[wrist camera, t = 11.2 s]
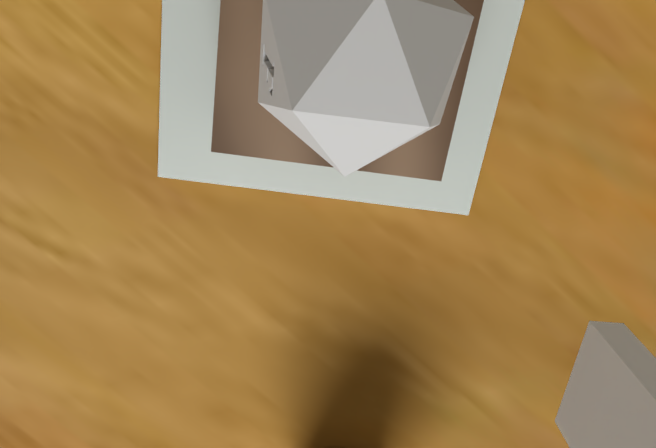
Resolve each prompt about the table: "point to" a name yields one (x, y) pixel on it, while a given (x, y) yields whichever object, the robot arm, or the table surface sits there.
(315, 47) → the die
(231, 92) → the walnut block
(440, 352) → the table surface
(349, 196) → the base plate
